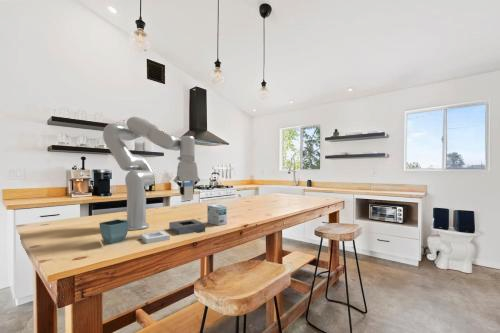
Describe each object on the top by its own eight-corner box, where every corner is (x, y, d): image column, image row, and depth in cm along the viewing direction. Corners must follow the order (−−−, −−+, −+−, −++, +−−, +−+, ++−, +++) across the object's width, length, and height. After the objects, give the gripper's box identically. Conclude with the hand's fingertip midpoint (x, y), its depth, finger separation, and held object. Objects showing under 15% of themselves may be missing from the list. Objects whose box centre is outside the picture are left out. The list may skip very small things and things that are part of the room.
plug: (184, 200, 125) (184, 182, 125) (181, 199, 129) (181, 182, 129) (193, 199, 128) (193, 182, 128) (189, 198, 132) (189, 182, 132)
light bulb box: (227, 223, 145) (227, 205, 145) (218, 225, 140) (218, 207, 140) (215, 221, 152) (215, 203, 152) (206, 222, 147) (206, 205, 147)
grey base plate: (146, 244, 105) (146, 239, 105) (140, 239, 113) (140, 233, 113) (169, 240, 111) (169, 235, 111) (162, 235, 119) (162, 230, 119)
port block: (179, 235, 119) (179, 227, 119) (169, 229, 130) (169, 221, 130) (205, 231, 127) (205, 223, 127) (193, 226, 138) (193, 218, 138)
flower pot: (109, 246, 102) (109, 225, 102) (98, 243, 107) (98, 222, 107) (129, 241, 110) (129, 221, 110) (118, 238, 114) (118, 219, 114)
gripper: (173, 159, 121) (173, 196, 120) (205, 159, 131) (204, 193, 131) (168, 159, 127) (168, 194, 126) (199, 160, 137) (198, 192, 137)
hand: (187, 193), depth 129 cm, fingers closed on plug, 4 cm apart
